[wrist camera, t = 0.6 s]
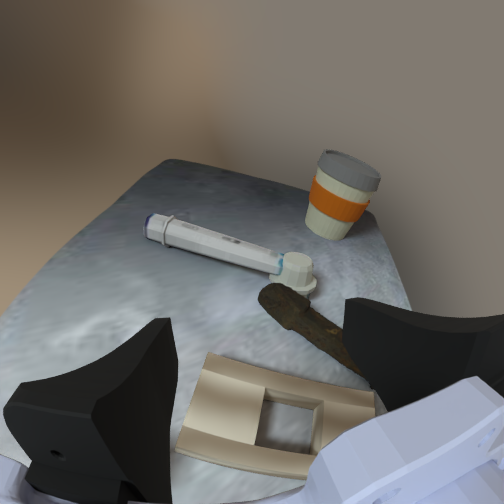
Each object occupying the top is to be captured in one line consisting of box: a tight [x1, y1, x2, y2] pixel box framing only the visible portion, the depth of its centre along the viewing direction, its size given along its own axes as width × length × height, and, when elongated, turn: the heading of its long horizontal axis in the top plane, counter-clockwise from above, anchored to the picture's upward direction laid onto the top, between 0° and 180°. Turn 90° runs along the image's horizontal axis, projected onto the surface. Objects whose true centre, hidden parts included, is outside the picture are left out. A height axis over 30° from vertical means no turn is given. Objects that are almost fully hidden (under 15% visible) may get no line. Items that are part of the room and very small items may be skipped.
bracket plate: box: [175, 352, 375, 480], centre depth 23 cm, size 10×18×2 cm, turn 80°
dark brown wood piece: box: [258, 283, 374, 389], centre depth 33 cm, size 19×4×5 cm, turn 52°
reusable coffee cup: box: [305, 149, 381, 240], centre depth 54 cm, size 12×13×15 cm
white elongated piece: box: [143, 213, 317, 299], centre depth 39 cm, size 5×7×25 cm
